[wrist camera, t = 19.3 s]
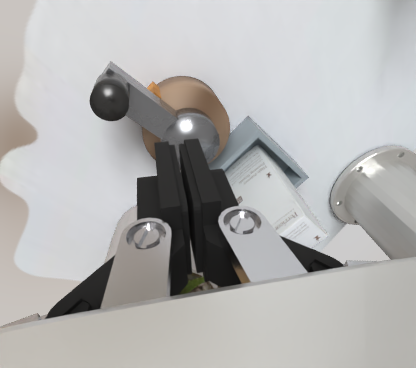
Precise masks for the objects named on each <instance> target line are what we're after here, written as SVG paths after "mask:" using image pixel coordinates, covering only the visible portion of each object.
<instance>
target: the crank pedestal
mask: <svg viewBox="0 0 416 368" xmlns="http://www.w3.org/2000/svg"><path fill="white" fill-rule="evenodd" d="M147 89H148V90H150V91H151V92H152V93H153V94H155V95H156V96H157V97H159V98H160V99H161V100H163V101H164V102H165V103H167V104H168V105H169V106H171V107H172V108H173V109H175V110H179V109H182V108H195V109H199V110H201V111H203V112H204V113H206V114H207V115H208V116H209V117H210V118H211V120H212V122H213V124H214V125H215V127H216V129H217V131H218V134H219V138H220V145H219V149H218V152H217V154H216V155H215V157H214V158H213V159H212V160H211V161H210V162H212V161H213V160H214V159H216V158H217V157H218V156H219V154H220V153H221V152H222V151H223V149H224V148H225V146H226V144H227V141H228V138H229V133H230V123H229V118H228V115H227V112H226V110H225V108H224V107H223V105H222V104H221V102H220V101H219V99H218V98H217V96H216V95H215V93H214V92H213V91H212V89H211V88H210V87H209V86H208V85H206V84H205V83H204V82H202V81H200V80H198V79H196V78H192V77H187V76H177V77H172V78H168V79H166V80H163V81H162V82H160V83H158V84H157V85H156V84H155V83H154V82H152V83H151V84H150V85H149V86H148V88H147ZM142 133H143V140H144V144H145V146H146V149H147V150H148V152H149V153H150V155H151V156H152V157H153V158H154V159H155V160H156V156H155V146H154V143H155V142H161V141H160V138H159V137H157V136H156V135H154V134H153V133H151V132H150V131H148V130H147V129H145V128H144V127H142ZM210 162H209V163H210ZM209 163H208V164H209ZM180 170H181V169H180Z"/></svg>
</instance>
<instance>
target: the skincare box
mask: <svg viewBox="0 0 416 368" xmlns="http://www.w3.org/2000/svg"><path fill="white" fill-rule="evenodd" d="M225 175H226V177H227V179H228V181H229V184H230V186H231V188H232V191H233V193H234V195H235V197H236V200H237V202H238V204H239V206H247V207H251V208H254V209H256V210H258V211H260V212H261V213H262V214H263V215H264V216H265V218H266V219H267V220H268V222H269V223H270V224H271V226H272V227H273V228H274V229H275V231H276V232H277V233H278V235H280V236H282V237H285V238H287V239H290V240H292V241H294V242H297V243H299V244H302V245H304V246H306V247H309V248H313V247H314V246H315V245H317V244H318V243H320V242H321V241H323V240H324V239H325V238H327V237H328V234H327V232H326V231H325V230H324V228H323V227H322V226H321V225H320V223H319V222H318V220H317V218H316V217H315V216H314V214H313V213H312V211H311V210H310V208H309V207H308V205H307V204H306V203H305V201H304V200H303V198H302V197H301V196H300V194H299V193H298V191H297V190H296V189H295V187H294V186H293V184H292V183H291V182H290V180H289V179H288V178H287V176H286V175H285V173H284V172H283V171H282V169H281V168H280V166H279V165H278V163H277V162H276V161H275V160H274V159H273V158H272V157H271V156H270V155H269V154H268V153H267V152H266V151H265V150H264V149H263V148H262V147H260V146H259V145H256V146H254V147H253V148H252V149H251V150H249V151H248V152H247V153H246V154H244V155H243V156H242V157H241V158H240V159H239V160H237V161H236V162H235V163H234V164H233V165H232V166H231V167H230V168H229V169H228V170H227V171H226V172H225Z"/></svg>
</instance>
